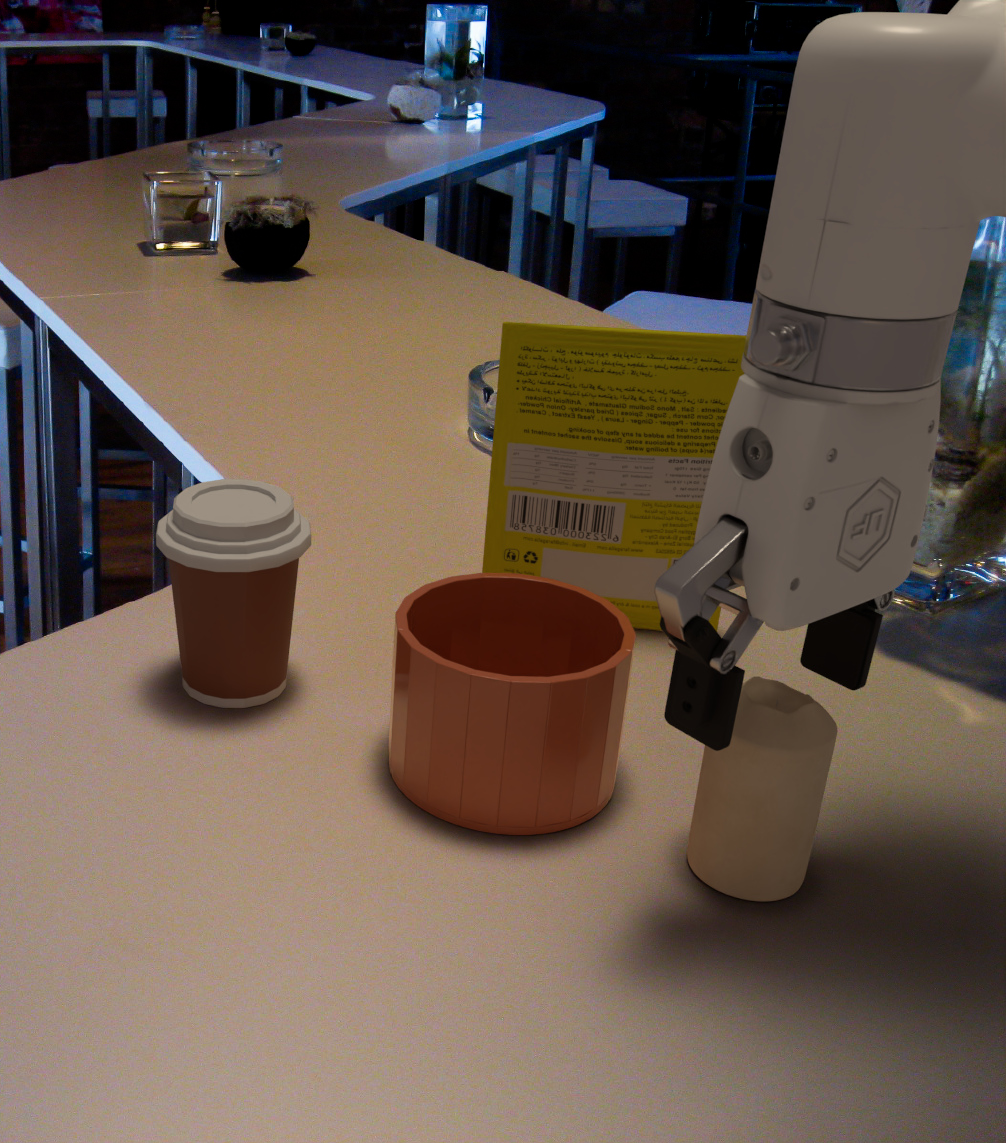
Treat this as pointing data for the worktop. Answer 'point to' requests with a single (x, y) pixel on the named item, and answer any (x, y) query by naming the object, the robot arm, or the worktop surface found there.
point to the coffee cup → (234, 587)
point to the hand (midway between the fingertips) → (765, 705)
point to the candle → (762, 794)
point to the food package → (604, 454)
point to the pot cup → (508, 701)
